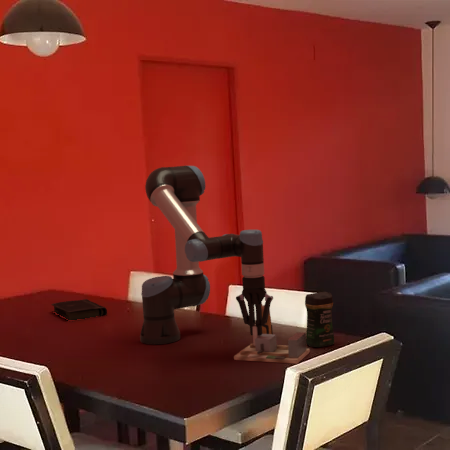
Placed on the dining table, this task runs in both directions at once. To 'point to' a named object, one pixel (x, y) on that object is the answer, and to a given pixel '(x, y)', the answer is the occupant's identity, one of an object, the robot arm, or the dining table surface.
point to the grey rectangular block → (266, 343)
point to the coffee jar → (319, 319)
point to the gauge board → (269, 355)
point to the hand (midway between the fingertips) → (256, 344)
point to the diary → (79, 309)
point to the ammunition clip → (267, 324)
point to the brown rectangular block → (297, 345)
